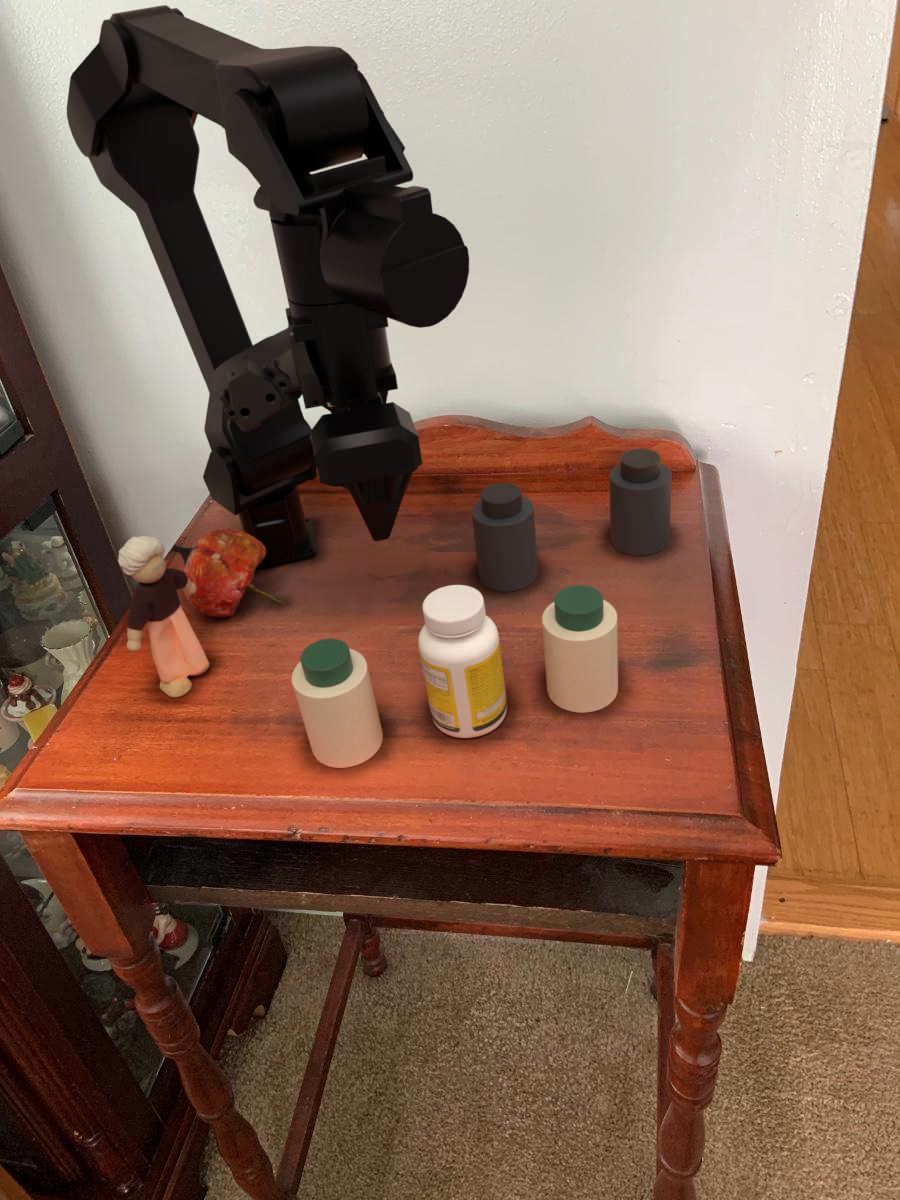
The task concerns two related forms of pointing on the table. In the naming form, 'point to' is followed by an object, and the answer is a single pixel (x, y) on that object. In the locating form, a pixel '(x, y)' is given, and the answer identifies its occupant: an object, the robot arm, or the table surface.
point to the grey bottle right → (640, 503)
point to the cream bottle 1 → (337, 704)
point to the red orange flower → (222, 570)
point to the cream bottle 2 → (581, 650)
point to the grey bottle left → (505, 538)
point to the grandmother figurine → (161, 615)
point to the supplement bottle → (462, 663)
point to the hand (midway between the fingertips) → (372, 505)
